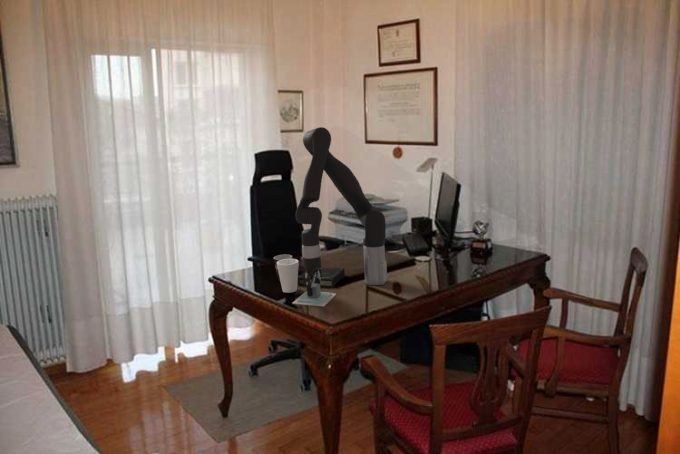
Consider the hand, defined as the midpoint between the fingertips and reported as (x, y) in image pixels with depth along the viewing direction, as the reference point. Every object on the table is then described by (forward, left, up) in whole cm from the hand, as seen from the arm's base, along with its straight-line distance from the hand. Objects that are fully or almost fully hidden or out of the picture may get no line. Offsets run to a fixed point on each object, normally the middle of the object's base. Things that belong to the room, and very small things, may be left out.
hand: (314, 292), depth 235 cm
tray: (0, 0, -3) cm, 3 cm away
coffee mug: (+25, -25, -3) cm, 35 cm away
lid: (0, 0, -3) cm, 3 cm away
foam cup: (+15, -8, -3) cm, 17 cm away
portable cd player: (+6, -23, -4) cm, 24 cm away
